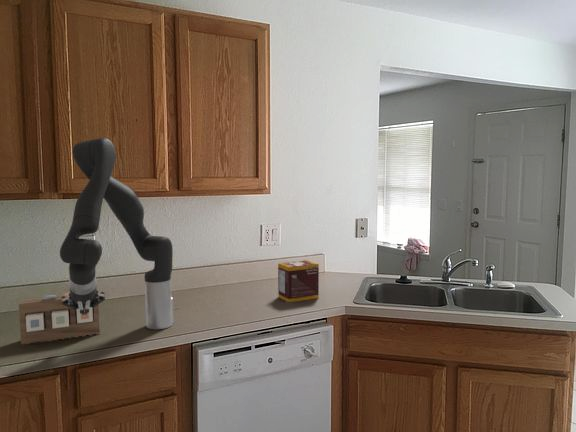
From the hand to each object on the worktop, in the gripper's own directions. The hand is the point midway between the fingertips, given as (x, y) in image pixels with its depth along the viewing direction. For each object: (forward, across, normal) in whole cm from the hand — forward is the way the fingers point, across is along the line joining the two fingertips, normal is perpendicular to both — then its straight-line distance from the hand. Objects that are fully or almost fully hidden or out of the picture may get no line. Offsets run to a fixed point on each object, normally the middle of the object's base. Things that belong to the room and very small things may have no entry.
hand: (84, 312), depth 152 cm
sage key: (+9, +7, -1) cm, 12 cm away
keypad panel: (+15, +8, 0) cm, 17 cm away
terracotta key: (+11, 0, -3) cm, 11 cm away
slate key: (+9, +15, -1) cm, 18 cm away
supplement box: (+22, -88, -6) cm, 91 cm away
